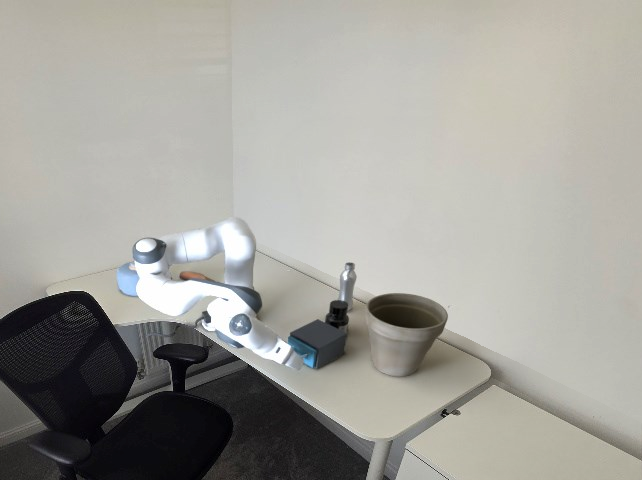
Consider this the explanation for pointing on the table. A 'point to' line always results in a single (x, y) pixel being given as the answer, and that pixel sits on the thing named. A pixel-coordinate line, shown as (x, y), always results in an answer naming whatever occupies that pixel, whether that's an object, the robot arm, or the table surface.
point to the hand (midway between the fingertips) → (287, 358)
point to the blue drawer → (303, 351)
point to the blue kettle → (128, 278)
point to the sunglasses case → (192, 275)
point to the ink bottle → (338, 315)
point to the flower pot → (402, 330)
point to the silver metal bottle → (347, 284)
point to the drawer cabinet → (322, 340)
